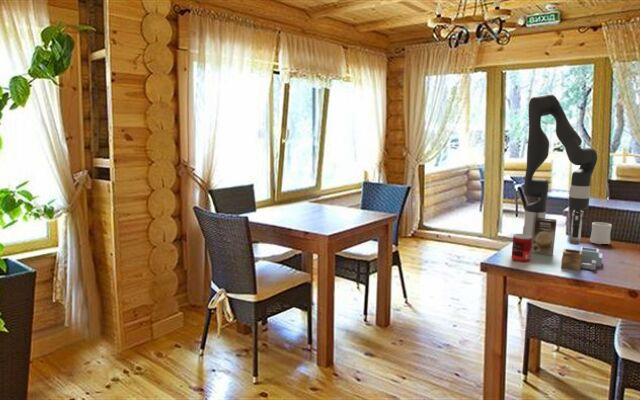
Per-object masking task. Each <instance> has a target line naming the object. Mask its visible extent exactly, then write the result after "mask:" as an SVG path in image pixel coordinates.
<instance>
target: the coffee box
mask: <svg viewBox="0 0 640 400" xmlns="http://www.w3.org/2000/svg"><path fill="white" fill-rule="evenodd" d="M556 228H557V219H555V218H546V217H545V218H537V217H536V220H535V228H534V238H533V246H532V247H531V253H532V254H537V255H545V256H554V249H555V248H554V247H555V239H556V230H557V229H556Z"/></svg>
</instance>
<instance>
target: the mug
mask: <svg viewBox="0 0 640 400" xmlns="http://www.w3.org/2000/svg"><path fill="white" fill-rule="evenodd" d="M612 227H613V225H612V223H609V222H599V221H594V222H592V223H591V233H590V238H589V241H590V243H592V244H596V245H601V244H608V245H610V244H611V231H612Z"/></svg>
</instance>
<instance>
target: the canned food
mask: <svg viewBox="0 0 640 400" xmlns="http://www.w3.org/2000/svg"><path fill="white" fill-rule="evenodd" d="M531 244H532V236H530V235H527V234H523V233H514V234H513V235H512V248H511V260H513V261H515V262H517V263H518V262H519V263H528V262H530V260H531V255H532V254H531V253H532V247H531Z"/></svg>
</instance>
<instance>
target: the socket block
mask: <svg viewBox="0 0 640 400" xmlns="http://www.w3.org/2000/svg"><path fill="white" fill-rule="evenodd" d="M581 260H582V251H581V250H580V249H579V250H578V249H571V248H565V247H564V248H563V251H562V257H561V263H560V267H561V269H565V270H566V269H567V270H573V271H578V272H579V271H581V268H580V266H581Z"/></svg>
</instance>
